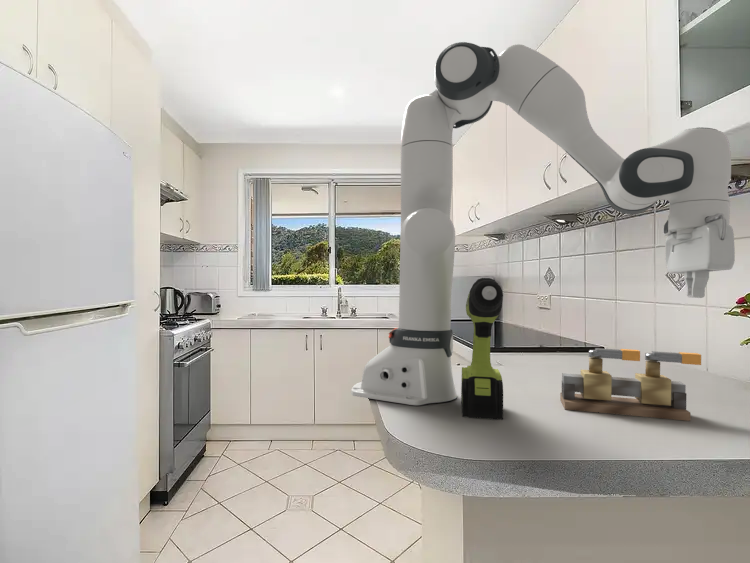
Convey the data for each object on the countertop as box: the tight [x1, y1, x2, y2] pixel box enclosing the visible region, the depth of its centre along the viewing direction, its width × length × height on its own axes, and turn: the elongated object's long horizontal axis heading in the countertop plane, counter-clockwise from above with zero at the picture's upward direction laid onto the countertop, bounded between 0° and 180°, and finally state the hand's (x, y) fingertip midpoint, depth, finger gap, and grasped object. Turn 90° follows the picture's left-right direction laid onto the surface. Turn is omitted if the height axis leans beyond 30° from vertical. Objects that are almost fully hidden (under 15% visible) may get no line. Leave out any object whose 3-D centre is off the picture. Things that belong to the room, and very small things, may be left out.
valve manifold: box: [559, 357, 691, 422], centre depth 88 cm, size 21×8×10 cm, turn 73°
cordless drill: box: [460, 277, 504, 420], centre depth 81 cm, size 23×7×25 cm, turn 170°
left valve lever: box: [588, 347, 641, 362], centre depth 88 cm, size 9×3×2 cm, turn 71°
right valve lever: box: [644, 350, 702, 366], centre depth 85 cm, size 9×3×2 cm, turn 70°
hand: (695, 297), depth 80 cm, fingers closed
